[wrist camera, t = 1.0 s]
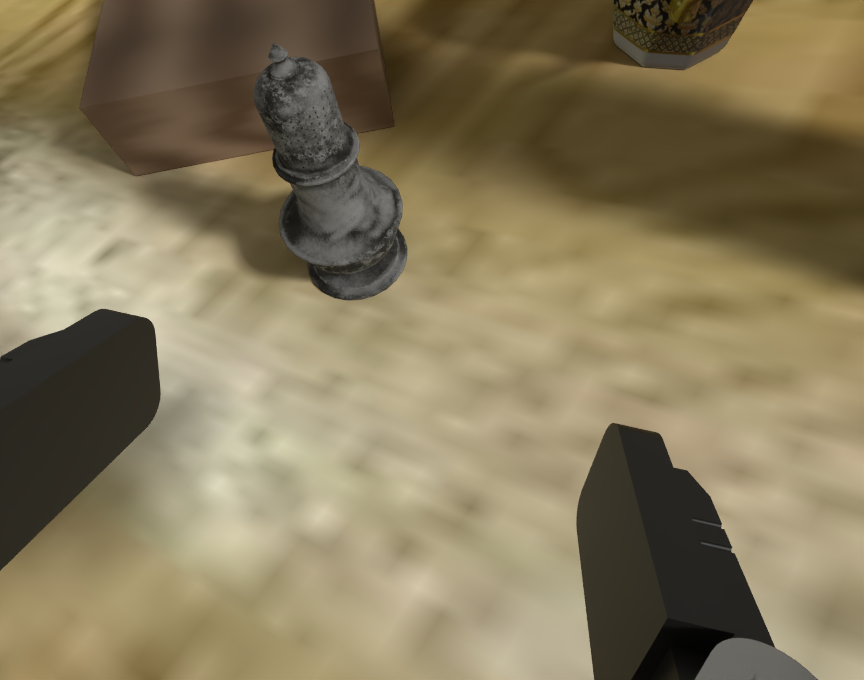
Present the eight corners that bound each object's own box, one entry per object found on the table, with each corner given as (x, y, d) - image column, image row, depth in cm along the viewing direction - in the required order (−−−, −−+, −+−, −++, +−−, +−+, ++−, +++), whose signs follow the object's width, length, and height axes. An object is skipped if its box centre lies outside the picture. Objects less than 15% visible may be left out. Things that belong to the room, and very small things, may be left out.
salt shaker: (435, 243, 28) (398, 20, 18) (363, 325, 27) (272, 132, 16) (352, 196, 30) (274, -29, 20) (280, 270, 29) (151, 66, 18)
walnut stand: (369, -27, 40) (353, -107, 35) (394, 126, 33) (377, 48, 28) (158, 16, 40) (116, -58, 36) (135, 176, 33) (79, 108, 29)
